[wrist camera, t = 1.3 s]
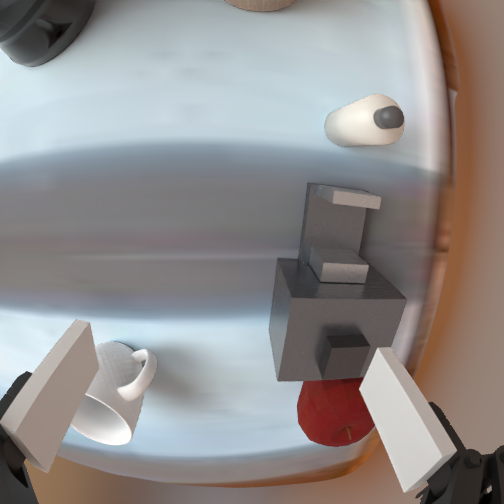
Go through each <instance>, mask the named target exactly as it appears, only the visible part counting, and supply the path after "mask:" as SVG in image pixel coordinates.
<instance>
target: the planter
mask: <svg viewBox="0 0 504 504" xmlns="http://www.w3.org/2000/svg"><path fill="white" fill-rule="evenodd" d="M224 1H226V2H227V3H229V4H231V5H233V6H235V7H238V8H241V9H244V10H249V11H261V12H262V11H273V10H278V9H281V8H284V7H287V6H289V5H290V4H292V3H293V2H295V1H296V0H224Z"/></svg>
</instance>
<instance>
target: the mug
mask: <svg viewBox="0 0 504 504" xmlns="http://www.w3.org/2000/svg"><path fill="white" fill-rule="evenodd" d="M95 350H96V355H97V359H98V363H99V367H100V368H99V370H98V372H97V374H96V375H95V377H94V379H93V381H92V383H91V385H90V387H89V388H88V390H87V392H86V394H85V396H84V398H83V400H82V402H81V404H80V406H79V408H78V410H77V412H76V414H75V416H74V418H73V420H72V422H71V424H70V426H72V427H73V428H74V429H75V430H77V431H78V432H80V433H81V434H83V435H85V436H86V437H88V438H90V439H93V440H95V441H98V442H101V443H104V444H109V445H123V444H126V443H128V442H129V441H130V440H131V439H132V436H133V433H134V430H135V427H136V424H137V421H138V419H139V415H140V412H141V407H142V403H143V398H144V391H145V390H146V389H147V388H148V386H149V385H150V383H151V382H152V380H153V378H154V376H155V373H156V369H157V360H156V357H155V356H154V354H153V353H152V352H151V351H150V350H148V349H141V350H138V351H135V352H134V351H133V350H132V349H131V348H130V347H128V346H126V345H124V344H122V343H119V342H105V343H101V344H99V345H97V346H95ZM145 360H146V362H145V365H144V367H142V363H141V362H142V361H145Z"/></svg>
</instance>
